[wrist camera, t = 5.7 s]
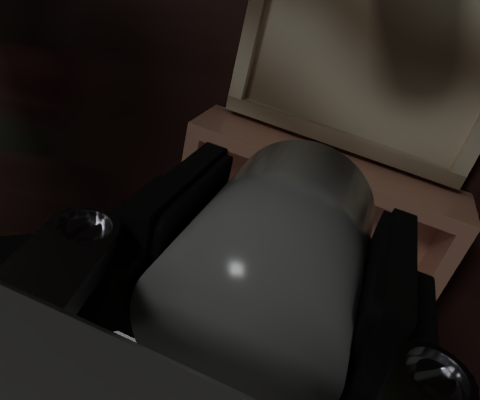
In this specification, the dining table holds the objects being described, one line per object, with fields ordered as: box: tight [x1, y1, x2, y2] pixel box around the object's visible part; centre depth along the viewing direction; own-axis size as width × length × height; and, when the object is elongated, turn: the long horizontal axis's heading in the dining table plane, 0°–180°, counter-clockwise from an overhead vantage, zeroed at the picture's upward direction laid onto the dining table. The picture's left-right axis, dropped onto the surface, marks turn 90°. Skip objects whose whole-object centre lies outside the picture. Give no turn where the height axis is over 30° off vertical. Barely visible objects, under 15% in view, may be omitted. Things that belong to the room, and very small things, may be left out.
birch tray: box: [226, 0, 480, 190], centre depth 22 cm, size 14×14×1 cm
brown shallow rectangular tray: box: [181, 105, 480, 300], centre depth 27 cm, size 12×16×4 cm
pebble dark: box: [130, 139, 375, 400], centre depth 10 cm, size 4×4×6 cm
